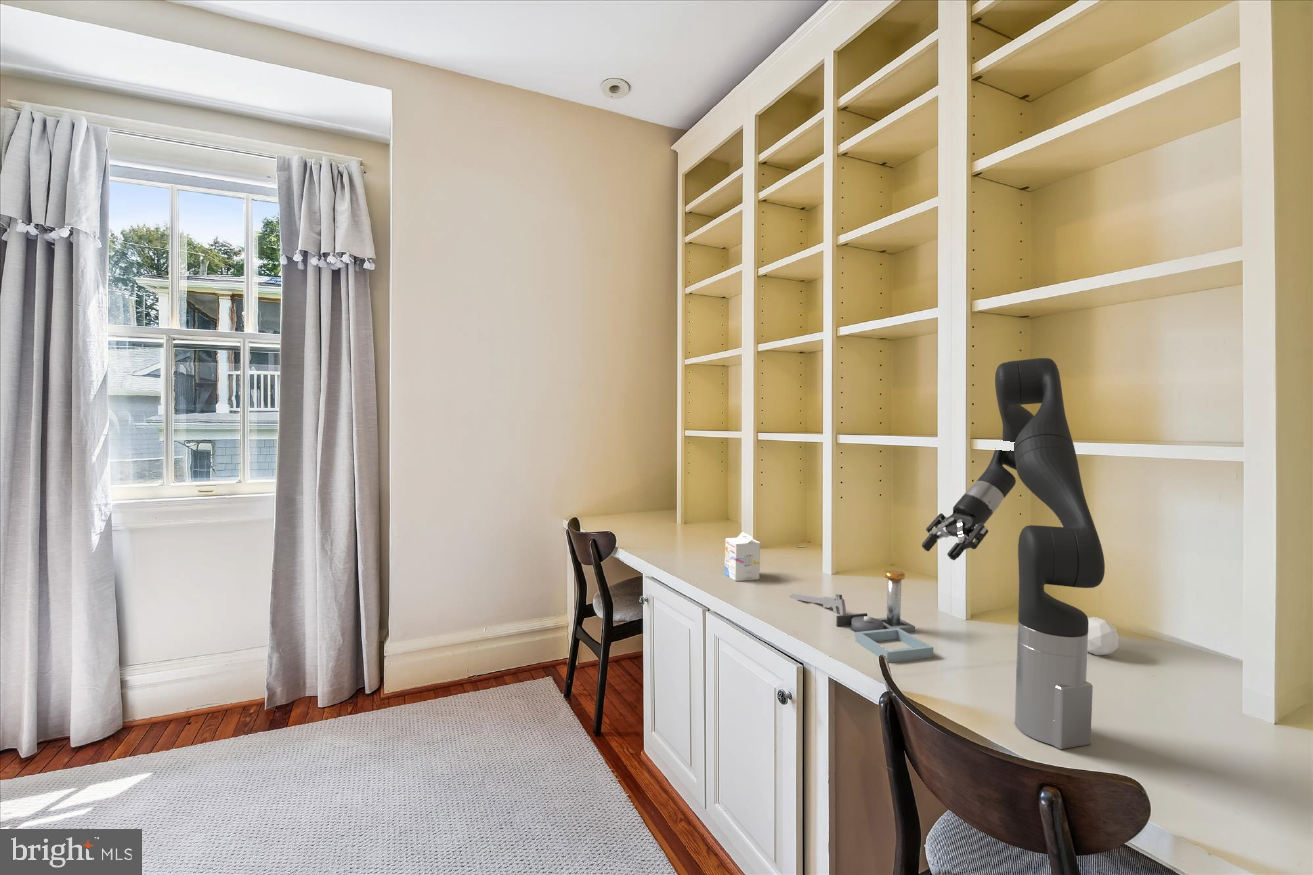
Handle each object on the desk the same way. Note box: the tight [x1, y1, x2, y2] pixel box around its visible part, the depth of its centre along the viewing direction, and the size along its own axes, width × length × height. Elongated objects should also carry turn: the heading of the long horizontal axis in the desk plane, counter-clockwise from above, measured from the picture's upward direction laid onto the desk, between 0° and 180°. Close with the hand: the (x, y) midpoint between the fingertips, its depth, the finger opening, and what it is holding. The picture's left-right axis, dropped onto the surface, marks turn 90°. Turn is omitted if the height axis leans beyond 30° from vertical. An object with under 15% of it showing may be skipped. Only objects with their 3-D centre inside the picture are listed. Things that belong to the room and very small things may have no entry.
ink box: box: [724, 531, 761, 582], centre depth 178 cm, size 9×8×13 cm
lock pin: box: [884, 569, 906, 627], centre depth 133 cm, size 4×4×13 cm
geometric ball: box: [1087, 616, 1120, 656], centre depth 122 cm, size 8×8×8 cm
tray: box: [854, 628, 934, 663], centre depth 121 cm, size 11×11×3 cm
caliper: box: [789, 592, 847, 615], centre depth 150 cm, size 20×1×6 cm, turn 26°
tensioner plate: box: [835, 612, 920, 635], centre depth 132 cm, size 9×16×4 cm, turn 104°
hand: (937, 553), depth 136 cm, fingers open, 8 cm apart
